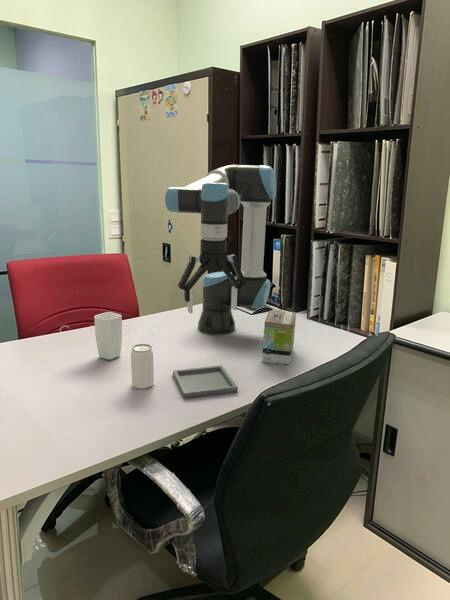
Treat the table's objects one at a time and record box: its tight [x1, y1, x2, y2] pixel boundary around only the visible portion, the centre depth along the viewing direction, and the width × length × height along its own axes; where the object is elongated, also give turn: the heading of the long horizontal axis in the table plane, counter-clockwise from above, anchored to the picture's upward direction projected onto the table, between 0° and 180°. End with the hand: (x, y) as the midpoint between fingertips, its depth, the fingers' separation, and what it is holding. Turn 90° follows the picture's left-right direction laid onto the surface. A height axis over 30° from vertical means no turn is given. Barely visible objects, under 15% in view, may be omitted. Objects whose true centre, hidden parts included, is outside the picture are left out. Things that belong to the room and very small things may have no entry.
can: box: [130, 343, 155, 390], centre depth 138 cm, size 6×6×12 cm
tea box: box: [261, 309, 297, 365], centre depth 162 cm, size 15×10×15 cm, turn 168°
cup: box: [93, 311, 123, 361], centre depth 157 cm, size 7×7×15 cm
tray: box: [172, 365, 239, 400], centre depth 141 cm, size 16×16×2 cm
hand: (212, 310), depth 137 cm, fingers open, 13 cm apart
